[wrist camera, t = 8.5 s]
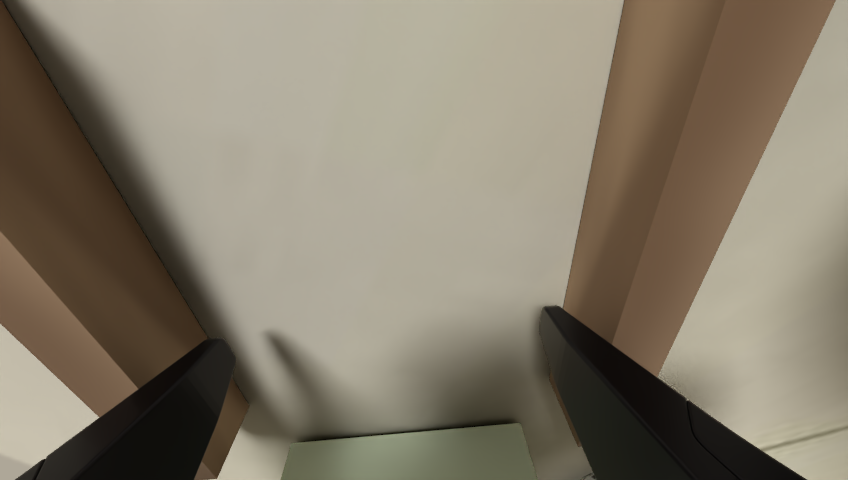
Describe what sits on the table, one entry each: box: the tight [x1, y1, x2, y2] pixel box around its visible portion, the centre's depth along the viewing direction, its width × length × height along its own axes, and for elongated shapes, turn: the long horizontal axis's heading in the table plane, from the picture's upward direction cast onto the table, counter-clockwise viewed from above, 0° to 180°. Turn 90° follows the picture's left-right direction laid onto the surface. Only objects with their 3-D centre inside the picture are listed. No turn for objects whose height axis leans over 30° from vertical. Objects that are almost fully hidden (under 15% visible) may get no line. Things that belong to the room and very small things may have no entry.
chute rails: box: [0, 0, 836, 480], centre depth 8 cm, size 15×14×2 cm
